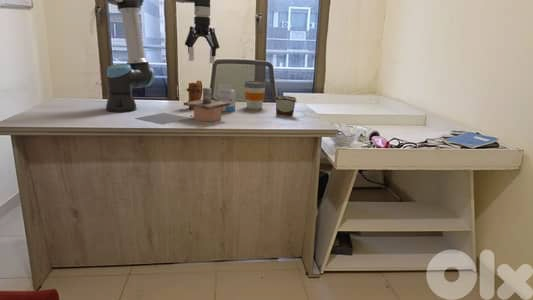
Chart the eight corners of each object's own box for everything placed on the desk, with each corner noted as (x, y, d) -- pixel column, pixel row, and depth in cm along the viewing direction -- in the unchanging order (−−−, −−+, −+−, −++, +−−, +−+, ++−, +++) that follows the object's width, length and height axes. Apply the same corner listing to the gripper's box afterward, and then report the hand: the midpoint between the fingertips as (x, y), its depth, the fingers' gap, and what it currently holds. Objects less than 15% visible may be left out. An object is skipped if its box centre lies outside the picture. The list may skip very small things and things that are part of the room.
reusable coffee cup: (268, 107, 230) (270, 82, 225) (257, 110, 219) (258, 84, 215) (251, 105, 236) (252, 80, 232) (239, 107, 226) (240, 81, 222)
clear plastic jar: (235, 110, 216) (236, 84, 212) (231, 112, 211) (232, 85, 207) (222, 109, 219) (222, 83, 215) (217, 110, 214) (218, 83, 210)
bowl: (188, 119, 189) (188, 105, 187) (205, 115, 200) (205, 102, 198) (208, 123, 183) (208, 108, 181) (225, 119, 193) (225, 105, 191)
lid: (183, 105, 186) (183, 88, 184) (205, 101, 200) (205, 85, 197) (209, 109, 179) (209, 91, 176) (229, 105, 192) (230, 88, 189)
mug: (198, 110, 211) (198, 83, 207) (184, 109, 212) (184, 82, 208) (207, 106, 225) (207, 80, 220) (194, 105, 226) (194, 79, 222)
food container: (298, 115, 211) (300, 97, 208) (294, 117, 205) (296, 98, 203) (278, 112, 216) (279, 95, 213) (273, 114, 210) (274, 96, 207)
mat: (134, 119, 183) (133, 118, 183) (163, 113, 199) (163, 112, 198) (162, 125, 174) (162, 124, 174) (191, 119, 189) (191, 118, 189)
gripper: (177, 14, 186) (177, 59, 192) (217, 16, 174) (216, 64, 180) (188, 16, 192) (188, 59, 198) (227, 18, 180) (226, 64, 186)
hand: (201, 62), depth 189 cm, fingers open, 13 cm apart
